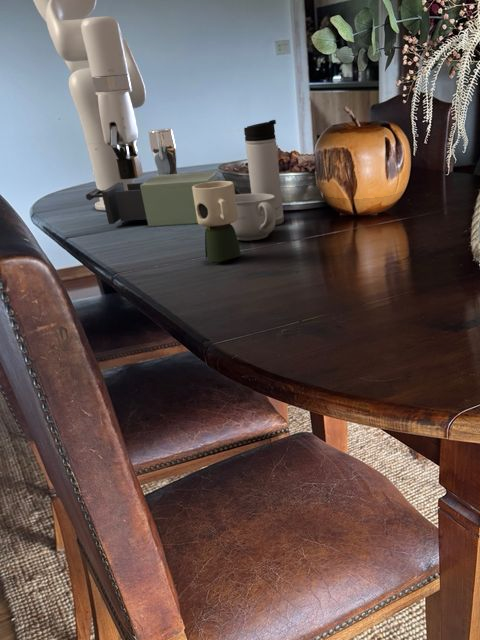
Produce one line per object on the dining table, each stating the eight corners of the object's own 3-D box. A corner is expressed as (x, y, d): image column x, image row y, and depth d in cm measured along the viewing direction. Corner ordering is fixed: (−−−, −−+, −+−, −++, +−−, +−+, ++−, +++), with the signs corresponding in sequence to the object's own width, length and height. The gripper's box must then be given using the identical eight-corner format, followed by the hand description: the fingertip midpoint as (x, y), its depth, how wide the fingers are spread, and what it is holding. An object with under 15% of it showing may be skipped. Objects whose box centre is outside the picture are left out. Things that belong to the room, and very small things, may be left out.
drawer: (87, 225, 146) (79, 193, 143) (104, 214, 156) (97, 184, 153) (167, 220, 145) (161, 188, 141) (179, 209, 155) (174, 178, 151)
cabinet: (148, 226, 145) (139, 185, 141) (162, 213, 156) (155, 175, 152) (213, 222, 144) (206, 180, 139) (223, 209, 155) (217, 170, 150)
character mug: (197, 256, 120) (184, 183, 113) (233, 250, 122) (223, 177, 115) (213, 271, 111) (200, 192, 104) (252, 263, 113) (242, 185, 107)
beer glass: (179, 187, 187) (169, 130, 179) (155, 188, 187) (145, 132, 180) (184, 182, 193) (174, 128, 185) (161, 184, 193) (150, 130, 186)
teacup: (218, 236, 132) (212, 195, 128) (268, 227, 135) (264, 187, 131) (238, 251, 121) (232, 207, 117) (292, 241, 124) (288, 198, 120)
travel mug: (281, 226, 136) (271, 121, 125) (251, 227, 137) (238, 123, 127) (288, 219, 141) (279, 118, 131) (259, 220, 142) (248, 120, 132)
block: (119, 179, 144) (115, 159, 142) (125, 176, 148) (121, 156, 146) (138, 178, 144) (134, 158, 142) (143, 175, 147) (139, 155, 145)
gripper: (108, 85, 144) (126, 172, 153) (80, 89, 130) (103, 184, 139) (141, 82, 144) (157, 169, 153) (117, 86, 129) (137, 182, 138)
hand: (131, 176), depth 146 cm, fingers closed on block, 4 cm apart
